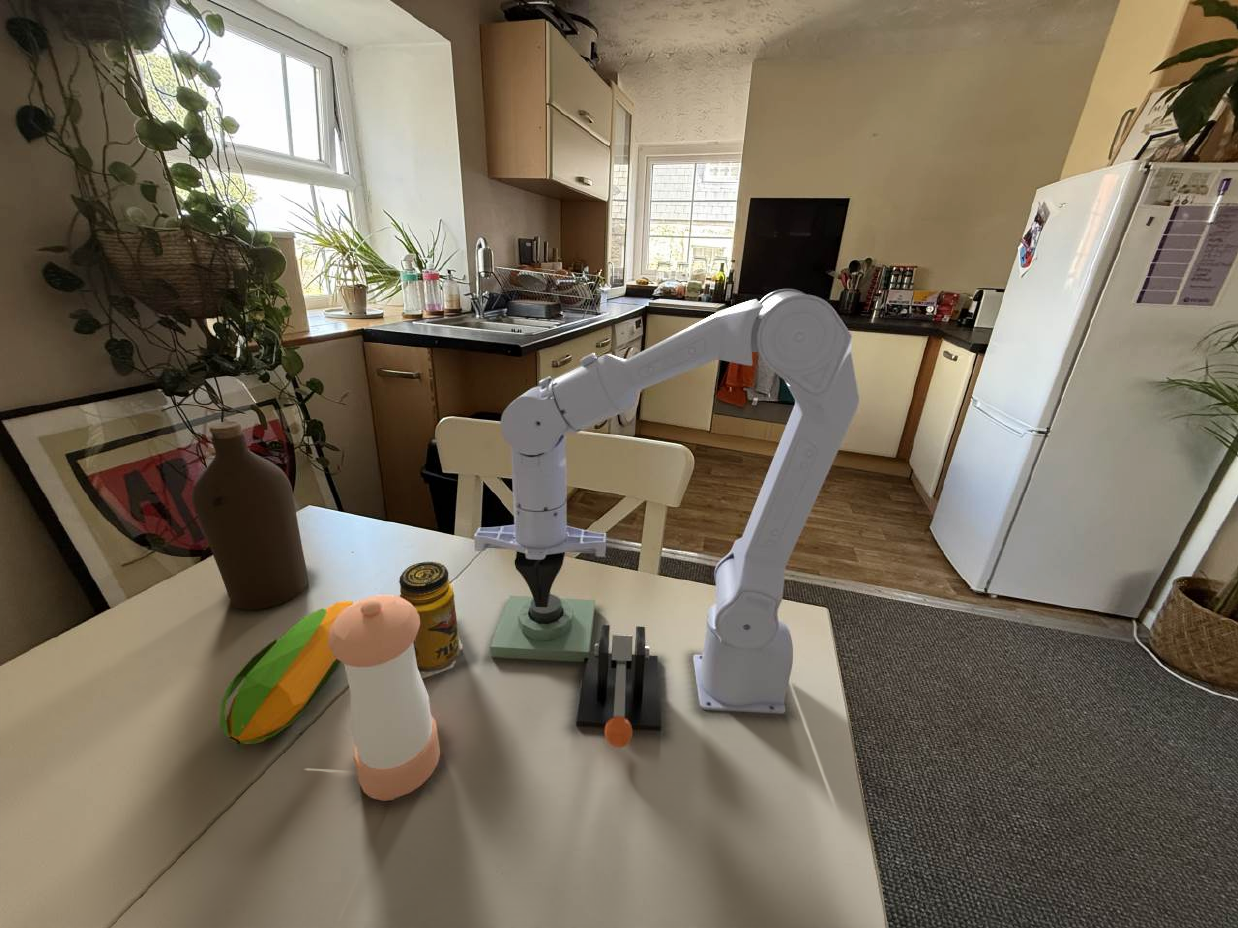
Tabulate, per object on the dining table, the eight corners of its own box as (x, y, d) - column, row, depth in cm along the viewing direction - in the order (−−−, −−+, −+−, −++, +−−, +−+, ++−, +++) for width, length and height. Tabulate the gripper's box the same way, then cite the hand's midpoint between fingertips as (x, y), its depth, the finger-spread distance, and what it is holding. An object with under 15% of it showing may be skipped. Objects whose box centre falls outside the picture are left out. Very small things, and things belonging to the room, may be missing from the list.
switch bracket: (660, 732, 52) (666, 676, 49) (575, 727, 52) (576, 672, 49) (657, 661, 62) (661, 611, 59) (585, 657, 62) (585, 607, 59)
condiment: (470, 661, 61) (462, 579, 56) (396, 690, 56) (380, 604, 51) (452, 625, 66) (443, 549, 61) (384, 649, 62) (369, 569, 57)
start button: (563, 604, 66) (563, 594, 65) (559, 625, 62) (559, 614, 62) (533, 603, 66) (533, 592, 66) (527, 623, 62) (527, 612, 62)
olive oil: (318, 595, 71) (279, 429, 61) (226, 624, 65) (166, 445, 55) (308, 560, 78) (271, 408, 69) (224, 583, 72) (171, 420, 63)
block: (594, 610, 70) (595, 590, 69) (588, 664, 61) (588, 641, 59) (510, 606, 70) (509, 585, 69) (491, 658, 61) (489, 636, 60)
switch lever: (631, 751, 49) (632, 744, 47) (603, 749, 49) (603, 742, 47) (634, 645, 57) (635, 634, 55) (609, 643, 57) (610, 633, 55)
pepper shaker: (381, 728, 52) (350, 574, 44) (451, 732, 51) (431, 578, 44) (343, 798, 45) (298, 631, 37) (423, 803, 45) (394, 636, 37)
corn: (182, 702, 45) (315, 572, 63) (201, 760, 47) (322, 620, 66) (265, 711, 45) (373, 578, 63) (278, 768, 48) (378, 626, 66)
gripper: (461, 513, 50) (471, 621, 55) (605, 520, 50) (601, 627, 55) (481, 484, 56) (488, 583, 62) (608, 490, 56) (604, 588, 62)
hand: (542, 601), depth 59 cm, fingers closed
